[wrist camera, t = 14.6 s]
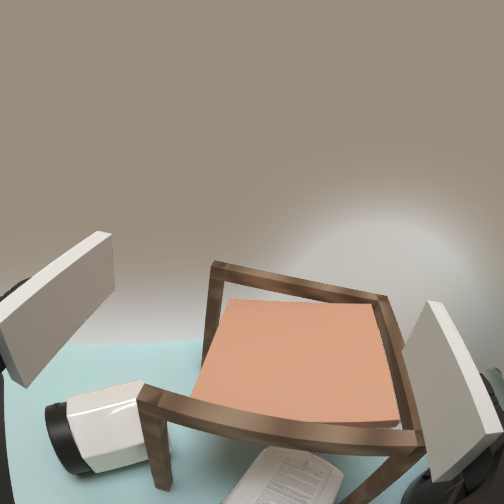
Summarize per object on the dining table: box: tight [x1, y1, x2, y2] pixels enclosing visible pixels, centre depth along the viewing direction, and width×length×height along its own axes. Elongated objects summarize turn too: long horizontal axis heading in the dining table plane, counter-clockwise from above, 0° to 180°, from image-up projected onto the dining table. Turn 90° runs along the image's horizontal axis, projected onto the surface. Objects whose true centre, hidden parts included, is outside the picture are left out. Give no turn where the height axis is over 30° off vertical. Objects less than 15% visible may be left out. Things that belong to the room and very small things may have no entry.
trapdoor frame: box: [136, 261, 427, 504], centre depth 30 cm, size 21×21×18 cm
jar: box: [45, 379, 172, 475], centre depth 27 cm, size 9×8×12 cm
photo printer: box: [221, 446, 344, 504], centre depth 25 cm, size 10×4×12 cm
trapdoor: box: [190, 299, 400, 428], centre depth 28 cm, size 16×16×1 cm
